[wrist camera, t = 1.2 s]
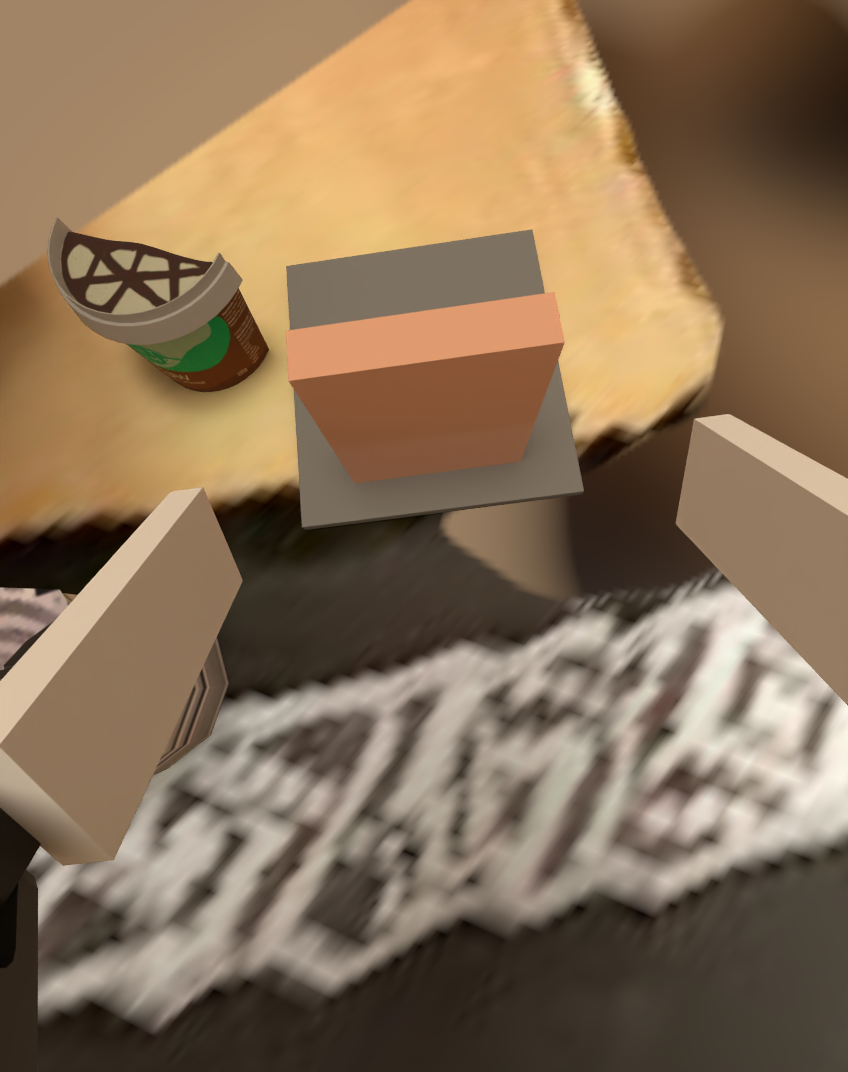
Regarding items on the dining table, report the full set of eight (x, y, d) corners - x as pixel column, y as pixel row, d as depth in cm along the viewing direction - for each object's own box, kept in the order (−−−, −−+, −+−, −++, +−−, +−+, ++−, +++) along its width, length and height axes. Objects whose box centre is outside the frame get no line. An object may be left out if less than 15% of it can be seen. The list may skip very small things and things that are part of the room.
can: (225, 772, 32) (90, 850, 20) (61, 776, 32) (-164, 854, 21) (234, 599, 34) (118, 578, 22) (81, 606, 35) (-109, 589, 23)
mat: (305, 529, 35) (302, 527, 34) (289, 273, 40) (286, 266, 39) (580, 494, 34) (583, 491, 33) (530, 237, 39) (532, 229, 38)
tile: (354, 483, 34) (288, 380, 21) (351, 445, 35) (285, 322, 21) (520, 461, 34) (564, 342, 20) (514, 423, 35) (552, 282, 21)
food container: (118, 385, 38) (4, 298, 29) (149, 320, 40) (48, 215, 30) (258, 422, 37) (188, 344, 27) (286, 353, 38) (227, 254, 28)
